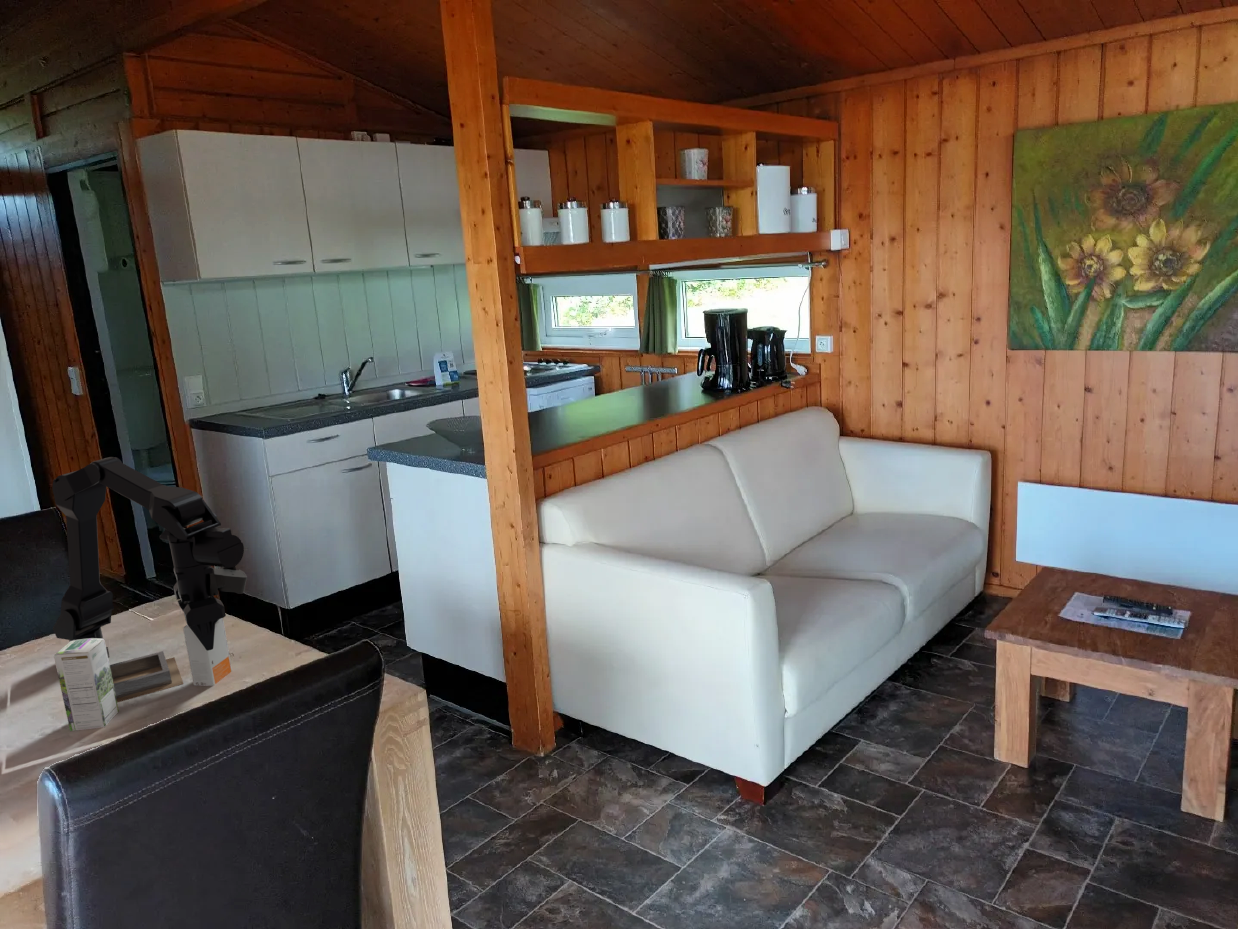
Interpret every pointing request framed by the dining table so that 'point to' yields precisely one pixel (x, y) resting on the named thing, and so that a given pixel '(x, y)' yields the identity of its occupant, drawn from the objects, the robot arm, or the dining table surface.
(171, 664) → the walnut stand
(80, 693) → the syrup box
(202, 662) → the skincare box
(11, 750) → the dining table surface
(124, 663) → the metal collar
